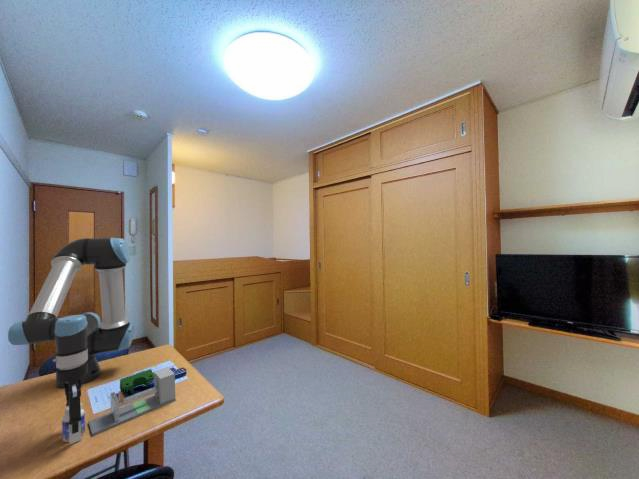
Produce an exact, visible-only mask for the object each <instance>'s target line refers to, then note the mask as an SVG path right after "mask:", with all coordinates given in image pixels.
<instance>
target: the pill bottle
mask: <svg viewBox="0 0 639 479" xmlns="http://www.w3.org/2000/svg"><path fill="white" fill-rule="evenodd" d="M80 405H81V418H82V419H81V437H82V436H83V435H84V434H85V433H86V411H85V409H83V403H82V402H80ZM68 422H69V406H68V407H67V406H66V407H65V409H64V415H63V416H62V419H61V423H62V424H61V425H62V426H61V429H62V441H63V442H65V443H69V425H67V426H66V423H68Z"/></svg>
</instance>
